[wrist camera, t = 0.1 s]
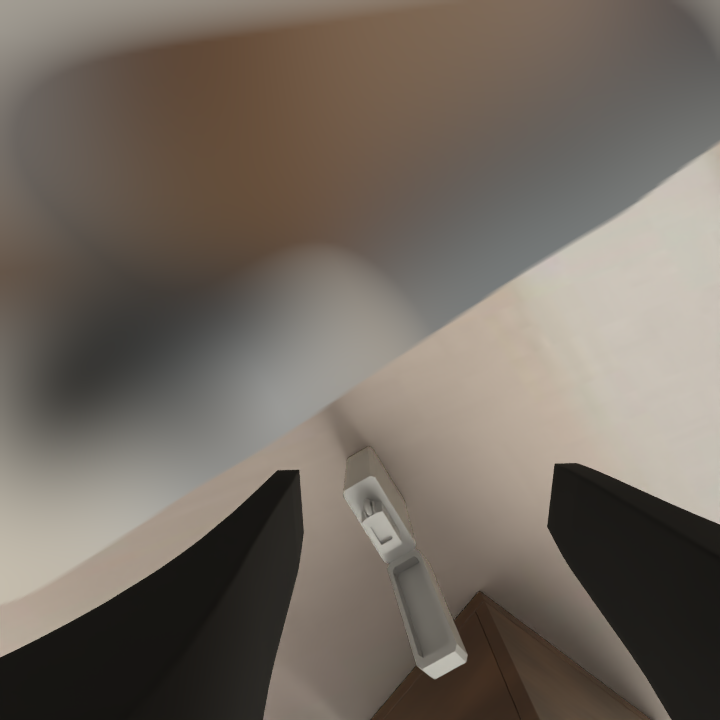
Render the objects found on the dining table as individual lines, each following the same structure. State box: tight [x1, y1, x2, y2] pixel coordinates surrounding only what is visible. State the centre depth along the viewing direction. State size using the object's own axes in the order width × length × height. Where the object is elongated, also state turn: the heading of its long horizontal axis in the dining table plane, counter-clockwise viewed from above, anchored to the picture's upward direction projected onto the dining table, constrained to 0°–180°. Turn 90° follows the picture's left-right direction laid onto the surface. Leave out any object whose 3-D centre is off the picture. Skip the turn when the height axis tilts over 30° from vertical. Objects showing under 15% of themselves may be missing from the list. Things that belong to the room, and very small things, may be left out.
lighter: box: [343, 447, 468, 679], centre depth 17 cm, size 7×2×8 cm, turn 31°
